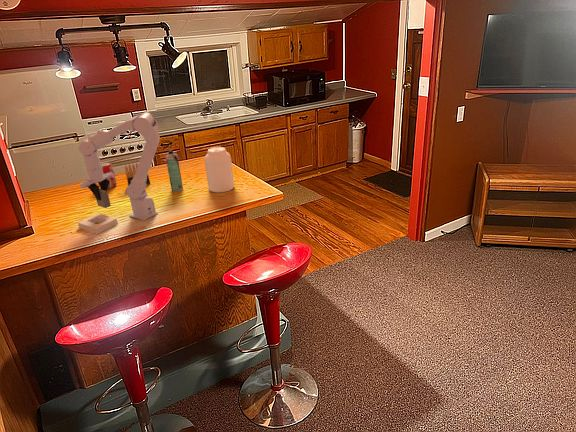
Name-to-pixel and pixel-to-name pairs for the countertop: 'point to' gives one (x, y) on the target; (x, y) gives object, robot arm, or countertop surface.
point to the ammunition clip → (129, 177)
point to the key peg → (103, 199)
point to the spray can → (174, 171)
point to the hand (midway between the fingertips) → (102, 198)
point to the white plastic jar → (219, 170)
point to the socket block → (97, 228)
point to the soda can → (106, 169)
